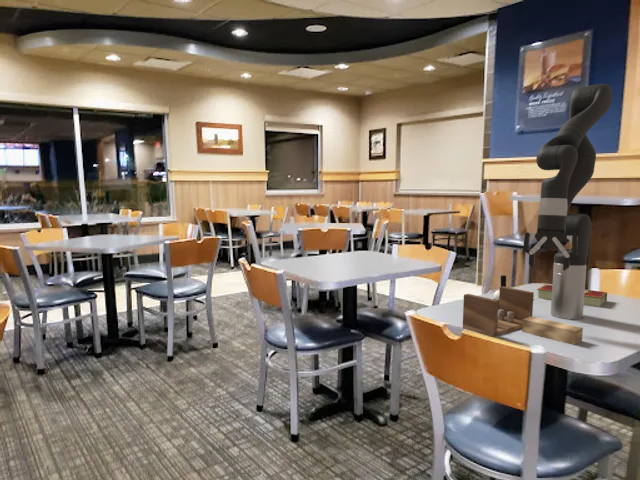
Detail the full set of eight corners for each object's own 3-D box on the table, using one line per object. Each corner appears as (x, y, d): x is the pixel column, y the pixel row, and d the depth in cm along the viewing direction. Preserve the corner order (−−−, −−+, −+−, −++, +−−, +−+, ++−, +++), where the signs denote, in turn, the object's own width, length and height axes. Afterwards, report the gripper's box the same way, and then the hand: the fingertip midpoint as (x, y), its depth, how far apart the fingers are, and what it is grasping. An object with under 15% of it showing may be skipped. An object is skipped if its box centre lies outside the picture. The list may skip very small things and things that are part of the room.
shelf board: (522, 332, 128) (522, 319, 128) (530, 329, 131) (531, 316, 131) (573, 346, 117) (574, 331, 117) (581, 342, 120) (582, 327, 120)
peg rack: (501, 317, 143) (503, 286, 142) (531, 324, 135) (533, 292, 134) (462, 327, 132) (463, 294, 130) (492, 336, 123) (494, 301, 122)
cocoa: (499, 307, 157) (497, 273, 157) (517, 308, 152) (515, 273, 153) (489, 311, 149) (487, 275, 150) (508, 312, 145) (506, 275, 146)
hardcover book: (544, 293, 178) (545, 283, 178) (606, 302, 165) (607, 291, 164) (536, 299, 169) (537, 288, 169) (600, 308, 155) (601, 297, 155)
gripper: (581, 215, 130) (576, 270, 131) (528, 213, 138) (524, 265, 139) (579, 214, 124) (574, 272, 125) (524, 212, 132) (520, 267, 133)
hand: (548, 268), depth 132 cm, fingers open, 8 cm apart
